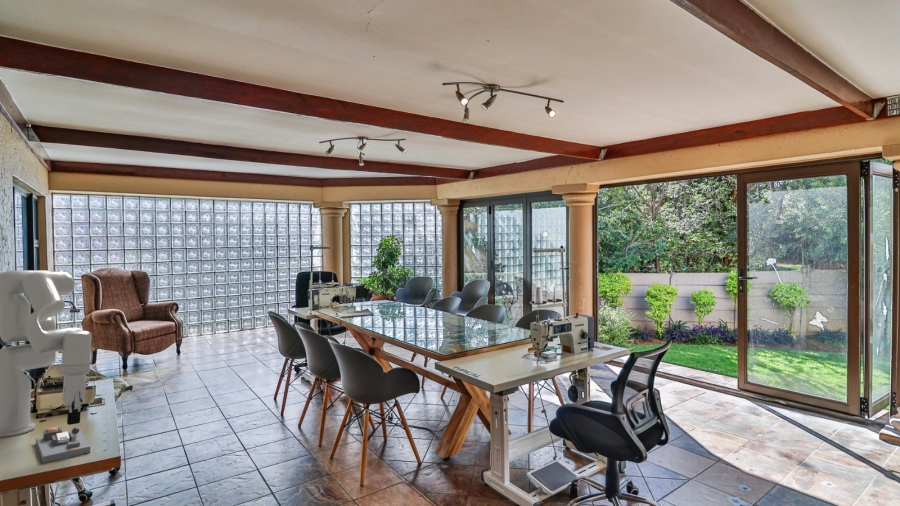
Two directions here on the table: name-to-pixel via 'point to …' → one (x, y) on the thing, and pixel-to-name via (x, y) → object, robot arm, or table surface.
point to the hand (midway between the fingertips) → (73, 423)
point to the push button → (52, 429)
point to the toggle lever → (74, 434)
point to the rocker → (62, 437)
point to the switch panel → (60, 446)
